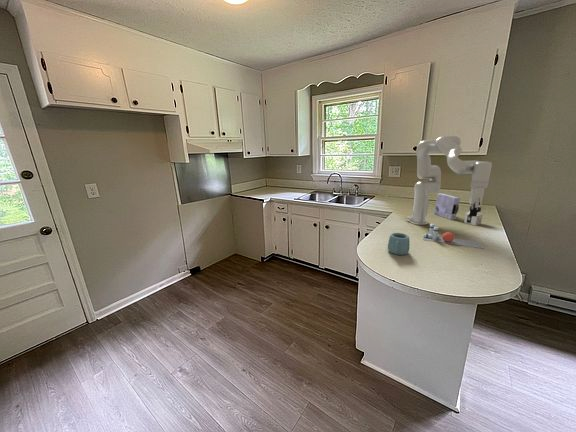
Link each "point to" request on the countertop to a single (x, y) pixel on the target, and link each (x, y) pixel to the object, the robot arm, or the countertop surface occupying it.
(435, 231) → the pin
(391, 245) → the mug
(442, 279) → the countertop surface
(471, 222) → the container
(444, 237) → the ball
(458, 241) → the lane
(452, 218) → the cake pan box
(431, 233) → the pin
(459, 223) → the countertop surface
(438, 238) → the front pin
